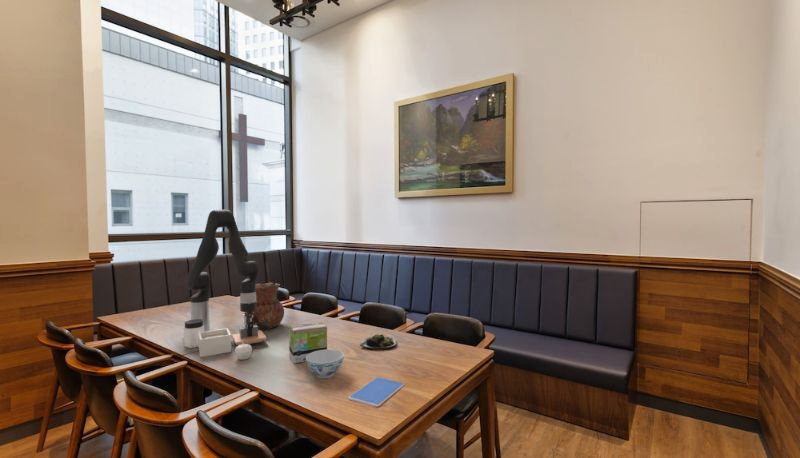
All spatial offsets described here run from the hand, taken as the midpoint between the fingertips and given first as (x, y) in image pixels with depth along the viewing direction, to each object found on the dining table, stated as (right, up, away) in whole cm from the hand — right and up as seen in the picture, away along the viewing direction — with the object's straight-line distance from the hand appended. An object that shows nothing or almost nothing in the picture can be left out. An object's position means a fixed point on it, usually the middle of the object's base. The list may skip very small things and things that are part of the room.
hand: (248, 334), depth 186 cm
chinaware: (+46, -6, -37) cm, 60 cm away
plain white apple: (+5, -5, -19) cm, 20 cm away
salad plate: (+65, -5, -2) cm, 66 cm away
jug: (-3, -4, +31) cm, 31 cm away
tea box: (+34, -5, -19) cm, 40 cm away
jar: (-27, -5, 0) cm, 28 cm away
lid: (0, -3, 0) cm, 3 cm away
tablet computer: (+68, -6, -52) cm, 86 cm away
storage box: (-13, -5, -8) cm, 16 cm away
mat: (0, -5, 0) cm, 5 cm away
